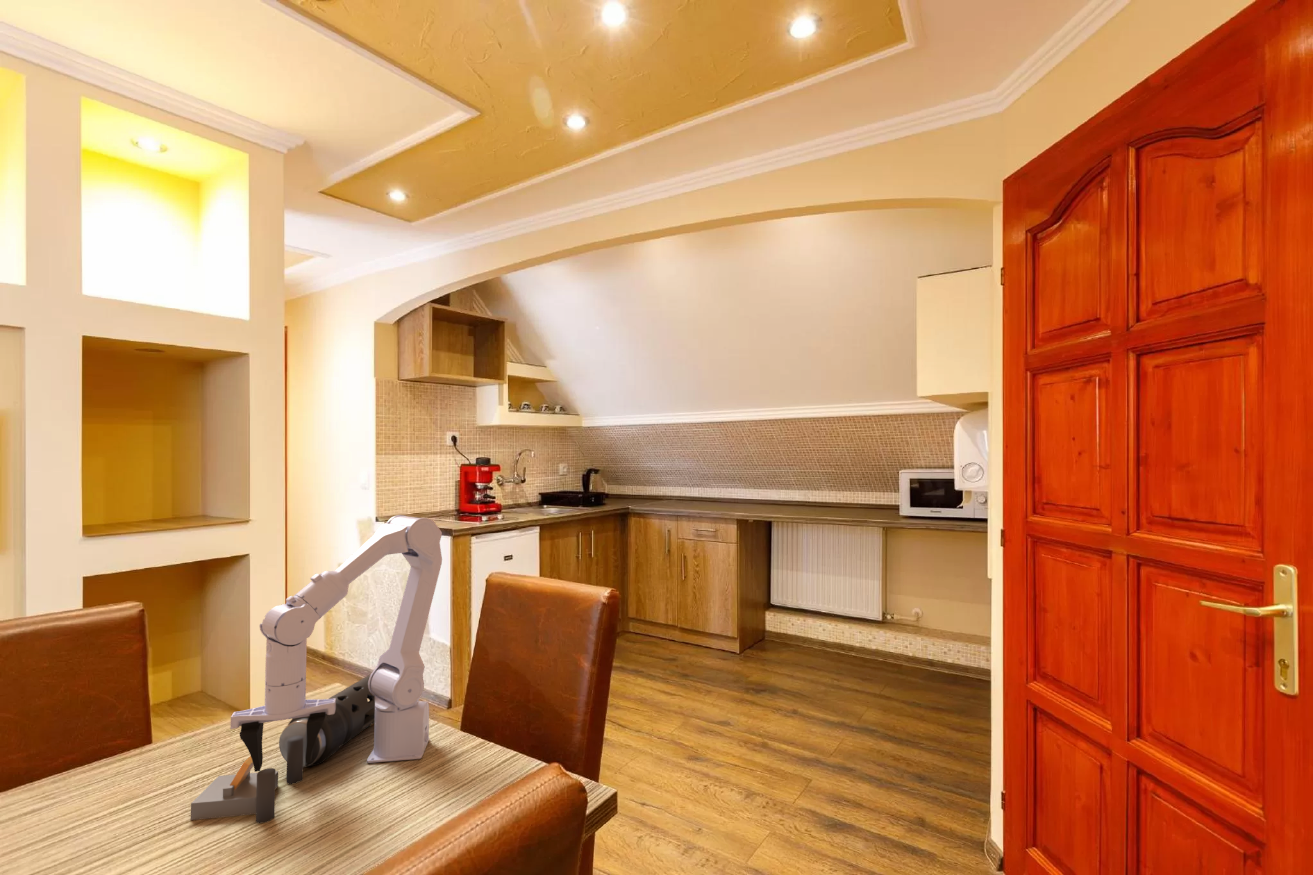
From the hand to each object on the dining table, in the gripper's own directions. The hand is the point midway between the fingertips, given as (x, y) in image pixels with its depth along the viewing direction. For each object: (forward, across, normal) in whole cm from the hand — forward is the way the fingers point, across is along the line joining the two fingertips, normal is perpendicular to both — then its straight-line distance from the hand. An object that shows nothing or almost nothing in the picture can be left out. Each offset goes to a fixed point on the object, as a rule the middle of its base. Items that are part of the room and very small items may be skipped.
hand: (283, 764), depth 98 cm
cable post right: (+5, -1, -6) cm, 8 cm away
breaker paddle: (+2, +7, -2) cm, 7 cm away
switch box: (+6, +7, -2) cm, 9 cm away
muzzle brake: (0, -3, -23) cm, 23 cm away
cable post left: (+6, +2, +5) cm, 8 cm away
